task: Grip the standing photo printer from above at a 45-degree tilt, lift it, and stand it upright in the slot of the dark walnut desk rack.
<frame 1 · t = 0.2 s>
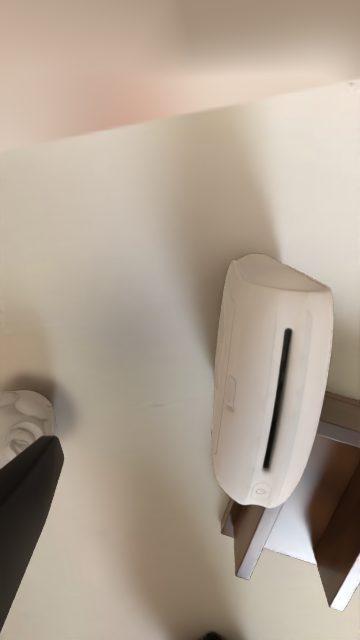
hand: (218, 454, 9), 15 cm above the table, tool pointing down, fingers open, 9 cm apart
frog figurine: (41, 408, 28), on the table
rack: (303, 473, 26), on the table
photo printer: (248, 326, 24), on the table
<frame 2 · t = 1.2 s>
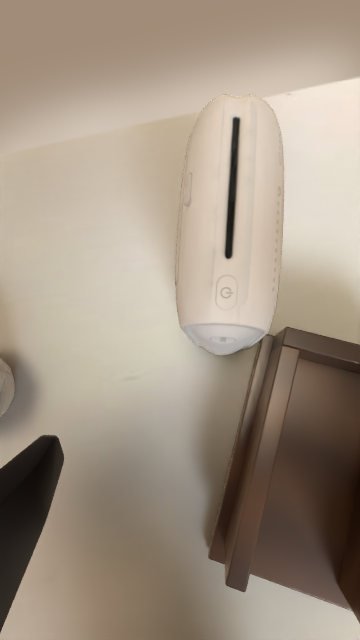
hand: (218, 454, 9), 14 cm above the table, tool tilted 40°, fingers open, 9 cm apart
frog figurine: (1, 391, 24), on the table
rack: (306, 459, 21), on the table
photo printer: (225, 285, 24), on the table
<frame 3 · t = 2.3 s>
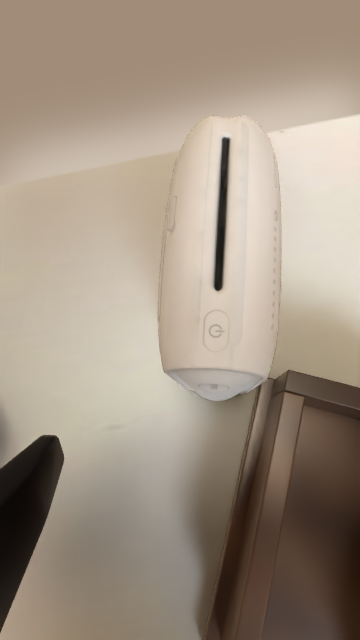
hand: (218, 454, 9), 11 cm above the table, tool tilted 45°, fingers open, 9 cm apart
rack: (316, 526, 18), on the table
photo printer: (219, 322, 22), on the table
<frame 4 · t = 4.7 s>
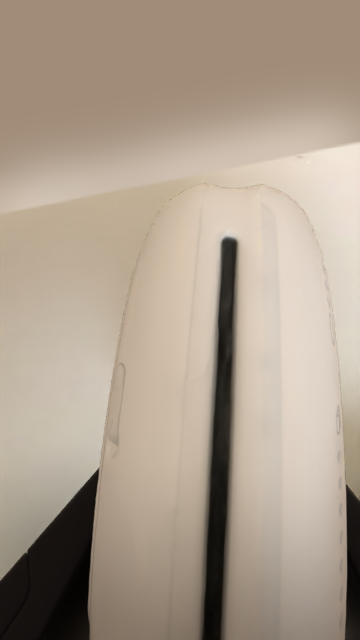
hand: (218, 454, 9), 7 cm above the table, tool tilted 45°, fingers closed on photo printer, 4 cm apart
photo printer: (218, 424, 16), on the table, touching gripper
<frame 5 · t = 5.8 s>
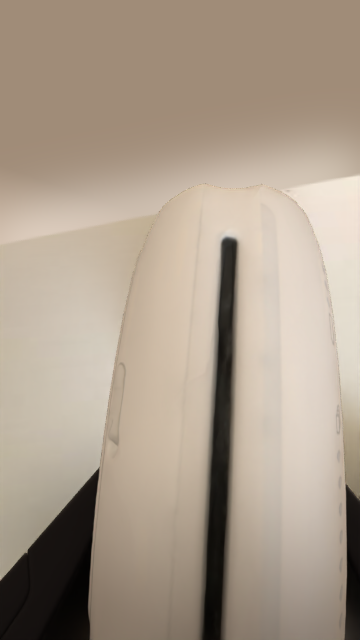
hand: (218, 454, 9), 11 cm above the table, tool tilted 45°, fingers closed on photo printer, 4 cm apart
photo printer: (218, 424, 16), point 3 cm above the table, touching gripper
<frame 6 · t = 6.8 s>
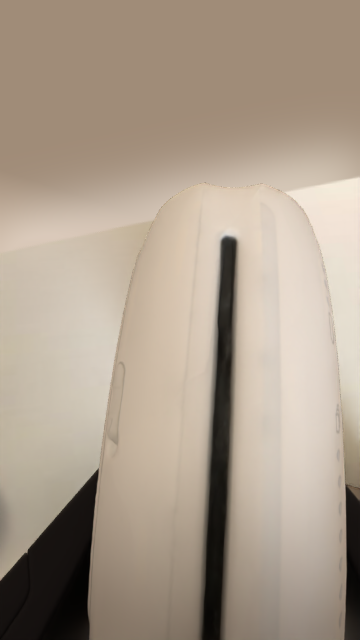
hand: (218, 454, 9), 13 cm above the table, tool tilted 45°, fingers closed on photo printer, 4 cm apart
photo printer: (218, 424, 16), point 6 cm above the table, touching gripper
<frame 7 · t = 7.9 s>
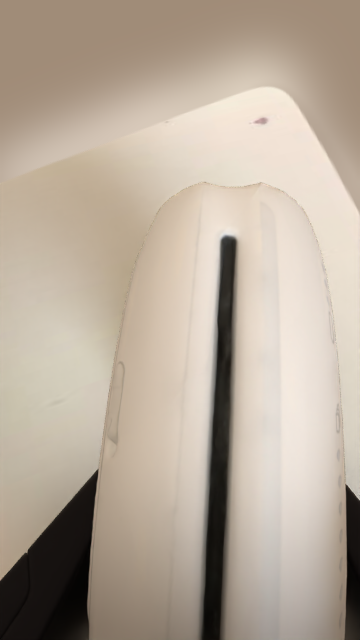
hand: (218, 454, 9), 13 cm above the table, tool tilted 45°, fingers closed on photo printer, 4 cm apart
photo printer: (218, 424, 16), point 6 cm above the table, touching gripper
when the fingers open (8 cm above the table, at t = 10.3 s): photo printer stays where it is, resting on rack.
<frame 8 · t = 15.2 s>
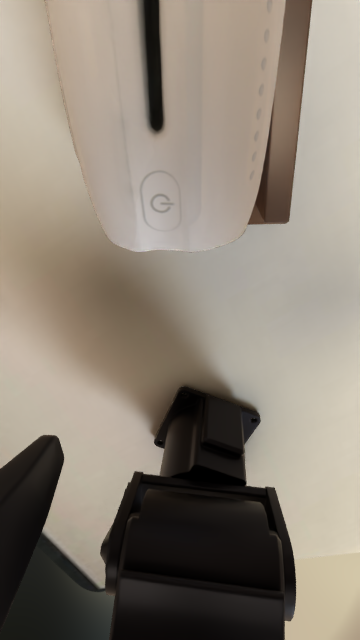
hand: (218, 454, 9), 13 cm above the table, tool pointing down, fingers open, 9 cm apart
rack: (199, 67, 16), on the table
photo printer: (199, 69, 15), point 1 cm above the table, touching rack
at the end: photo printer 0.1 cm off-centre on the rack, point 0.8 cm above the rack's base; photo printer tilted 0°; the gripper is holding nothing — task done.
